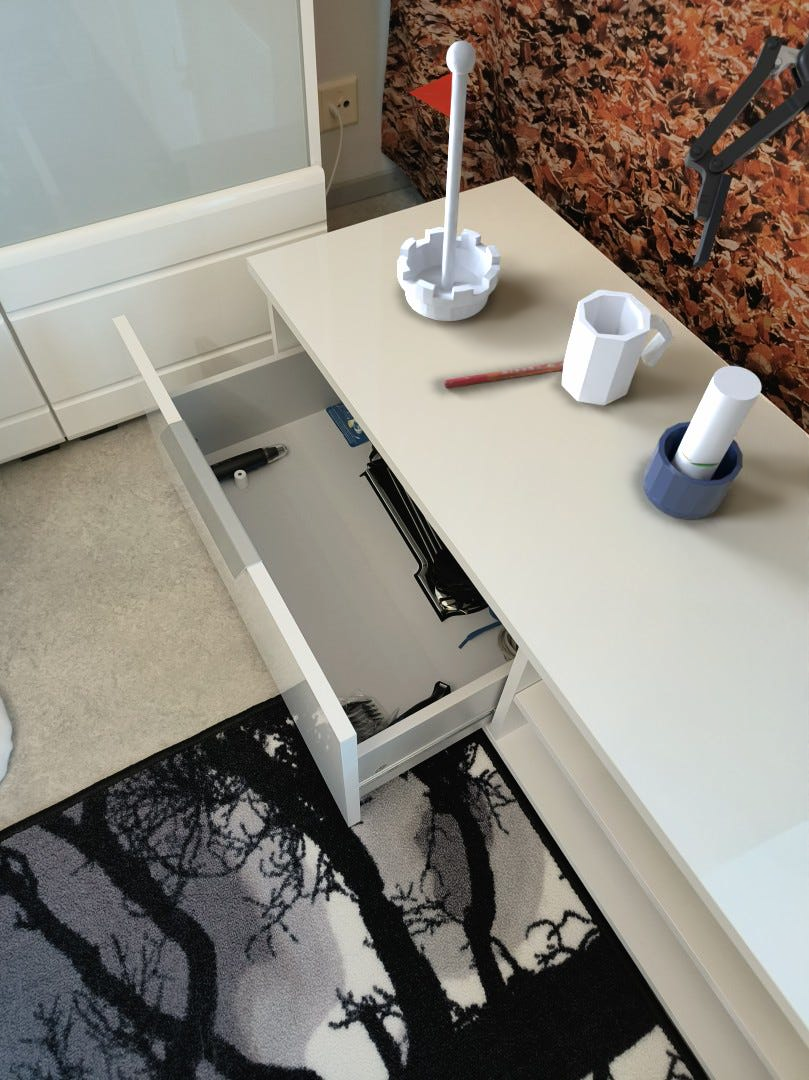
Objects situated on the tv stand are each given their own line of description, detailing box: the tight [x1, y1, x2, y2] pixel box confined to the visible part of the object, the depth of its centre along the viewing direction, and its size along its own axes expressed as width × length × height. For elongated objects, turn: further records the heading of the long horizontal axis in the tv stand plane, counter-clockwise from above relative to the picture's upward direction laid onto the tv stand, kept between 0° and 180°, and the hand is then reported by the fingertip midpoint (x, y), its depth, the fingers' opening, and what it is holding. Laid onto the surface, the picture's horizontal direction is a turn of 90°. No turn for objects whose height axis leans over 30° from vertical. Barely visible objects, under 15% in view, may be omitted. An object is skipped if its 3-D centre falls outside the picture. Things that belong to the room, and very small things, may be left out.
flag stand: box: [396, 40, 501, 322], centre depth 85 cm, size 13×13×30 cm
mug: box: [561, 288, 675, 406], centre depth 85 cm, size 12×9×10 cm
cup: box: [642, 421, 744, 520], centre depth 78 cm, size 8×8×6 cm
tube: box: [671, 365, 762, 481], centre depth 74 cm, size 4×4×15 cm
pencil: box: [443, 360, 564, 389], centre depth 90 cm, size 19×1×1 cm, turn 102°
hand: (786, 280), depth 59 cm, fingers open, 13 cm apart
